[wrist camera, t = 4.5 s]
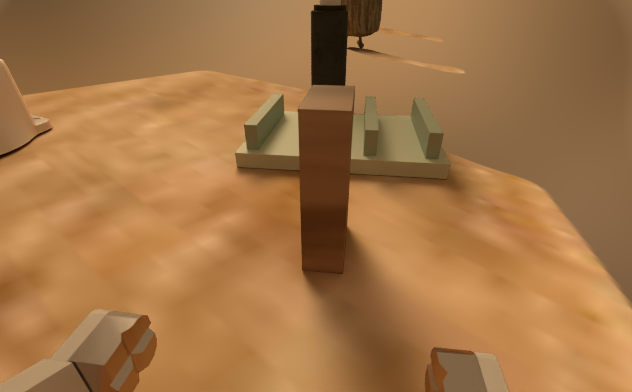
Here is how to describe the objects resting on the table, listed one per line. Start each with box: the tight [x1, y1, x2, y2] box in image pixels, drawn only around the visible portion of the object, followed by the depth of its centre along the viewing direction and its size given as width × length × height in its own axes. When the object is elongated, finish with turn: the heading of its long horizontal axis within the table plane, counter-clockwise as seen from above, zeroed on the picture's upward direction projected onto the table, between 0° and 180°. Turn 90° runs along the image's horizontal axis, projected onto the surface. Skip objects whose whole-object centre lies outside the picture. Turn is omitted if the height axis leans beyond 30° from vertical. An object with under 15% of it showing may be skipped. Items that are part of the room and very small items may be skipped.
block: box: [298, 85, 355, 274], centre depth 20 cm, size 5×2×10 cm, turn 173°
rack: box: [235, 94, 450, 179], centre depth 37 cm, size 14×20×4 cm
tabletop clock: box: [341, 0, 382, 48], centre depth 104 cm, size 14×9×25 cm, turn 137°
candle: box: [311, 0, 348, 86], centre depth 48 cm, size 5×5×25 cm
